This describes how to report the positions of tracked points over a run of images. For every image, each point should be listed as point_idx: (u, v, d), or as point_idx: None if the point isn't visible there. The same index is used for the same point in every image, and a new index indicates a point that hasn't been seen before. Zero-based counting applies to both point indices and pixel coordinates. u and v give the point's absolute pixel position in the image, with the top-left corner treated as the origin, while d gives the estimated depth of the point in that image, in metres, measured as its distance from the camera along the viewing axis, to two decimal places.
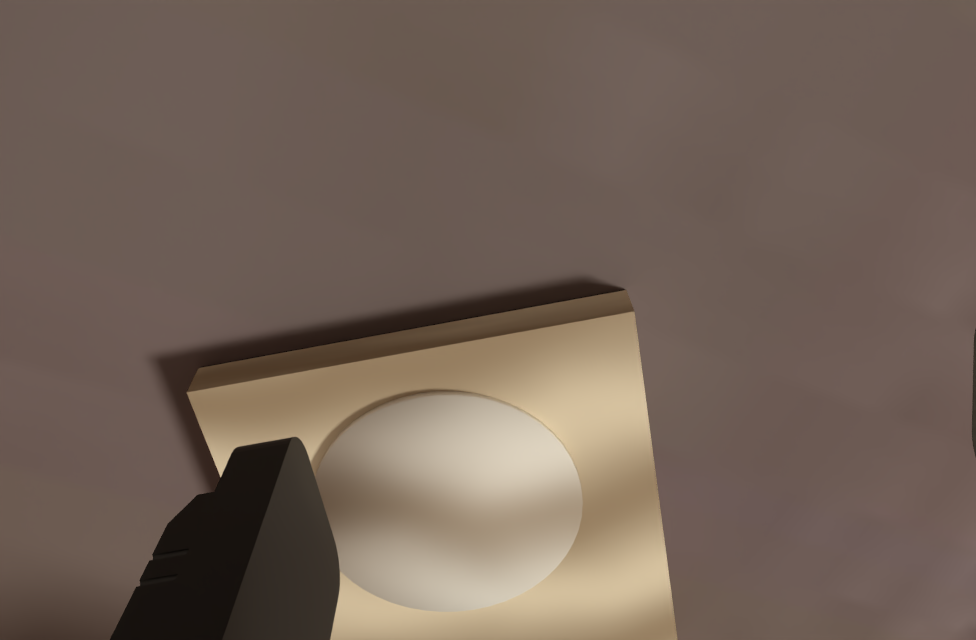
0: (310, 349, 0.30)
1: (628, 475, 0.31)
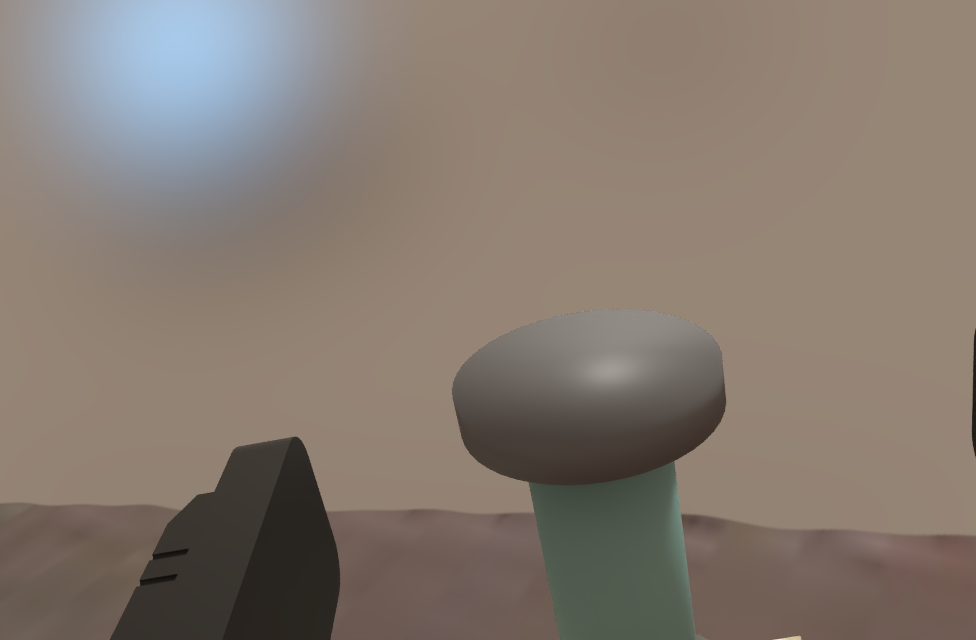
0: None
1: None
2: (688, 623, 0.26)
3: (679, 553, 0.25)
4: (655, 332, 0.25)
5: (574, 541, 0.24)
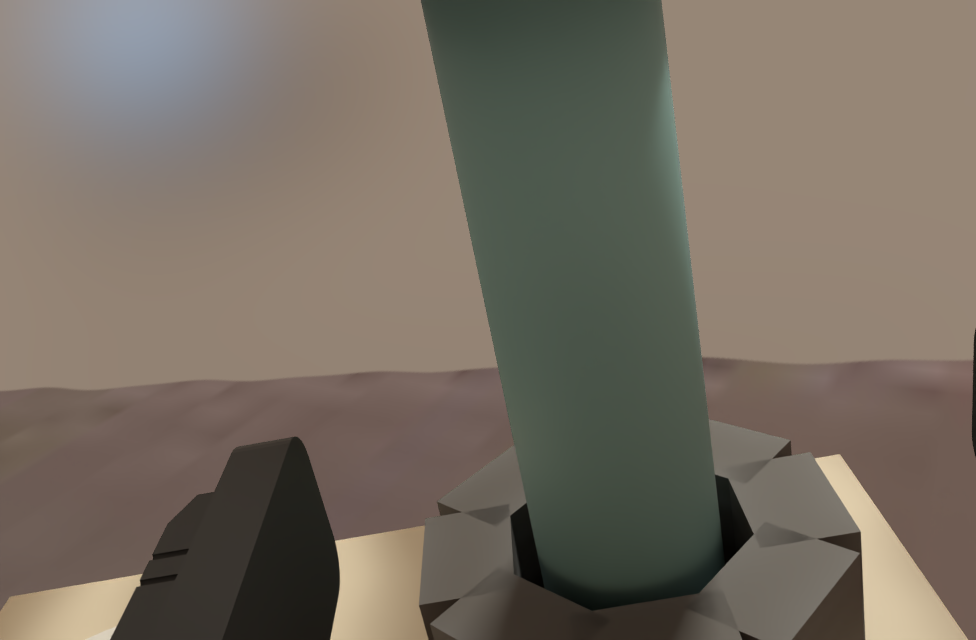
0: None
1: None
2: (690, 316, 0.17)
3: (674, 186, 0.16)
4: None
5: (504, 139, 0.15)
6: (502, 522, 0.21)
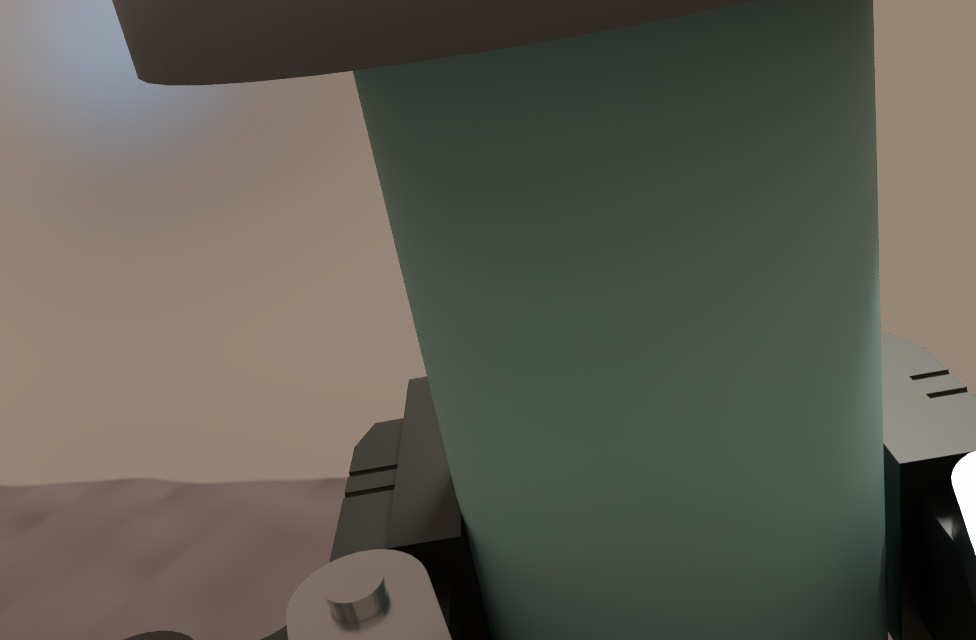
0: None
1: None
2: None
3: (880, 477, 0.08)
4: None
5: (540, 421, 0.07)
6: None
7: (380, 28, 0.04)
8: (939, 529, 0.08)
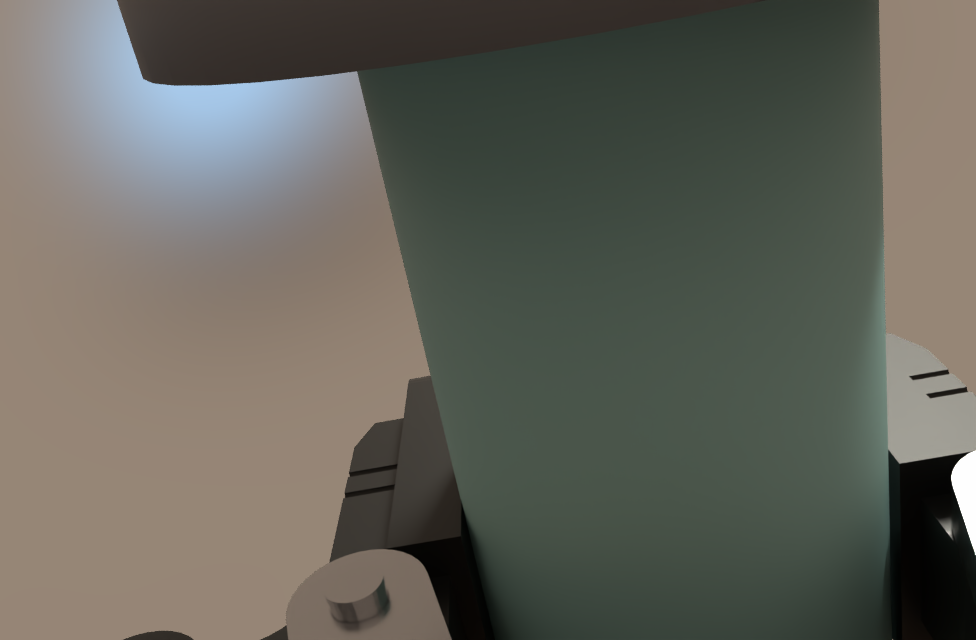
0: None
1: None
2: None
3: (885, 478, 0.08)
4: None
5: (546, 421, 0.07)
6: None
7: (388, 28, 0.04)
8: (939, 529, 0.08)
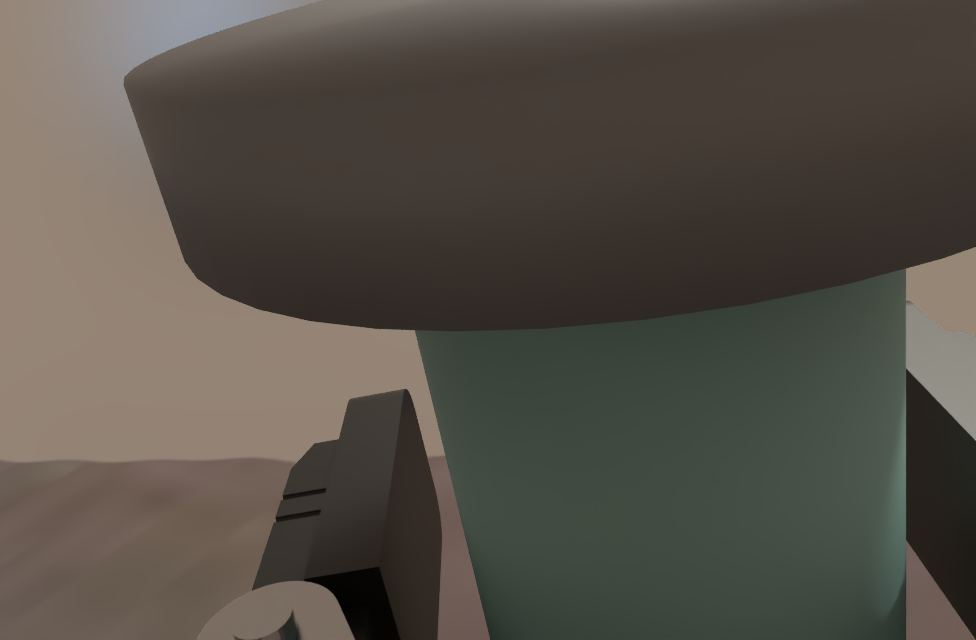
0: None
1: None
2: None
3: (903, 610, 0.08)
4: None
5: (575, 579, 0.07)
6: None
7: (443, 298, 0.04)
8: None
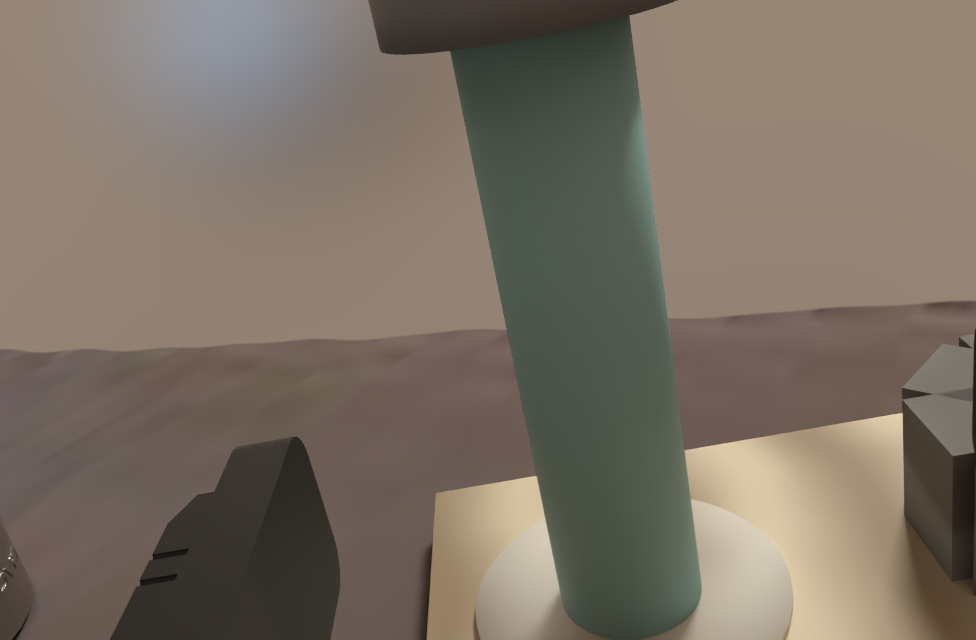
0: None
1: None
2: (659, 305, 0.22)
3: (646, 205, 0.21)
4: None
5: (516, 171, 0.20)
6: None
7: (473, 38, 0.17)
8: None
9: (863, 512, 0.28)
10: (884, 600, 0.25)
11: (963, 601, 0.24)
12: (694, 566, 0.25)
